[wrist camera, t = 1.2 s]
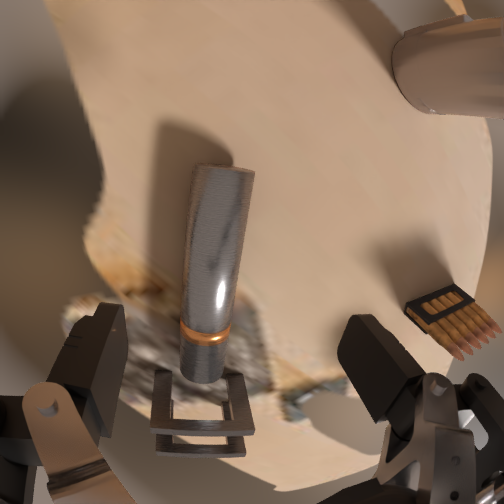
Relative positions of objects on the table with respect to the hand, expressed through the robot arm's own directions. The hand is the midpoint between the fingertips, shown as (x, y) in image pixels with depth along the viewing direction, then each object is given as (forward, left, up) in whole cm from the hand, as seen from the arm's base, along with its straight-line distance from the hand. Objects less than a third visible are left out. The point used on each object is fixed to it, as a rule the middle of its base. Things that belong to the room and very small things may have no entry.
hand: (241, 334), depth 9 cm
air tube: (+6, 0, -16) cm, 17 cm away
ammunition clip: (+8, +31, -16) cm, 36 cm away
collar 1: (+20, 0, -16) cm, 25 cm away
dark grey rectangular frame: (+26, 0, -16) cm, 30 cm away
